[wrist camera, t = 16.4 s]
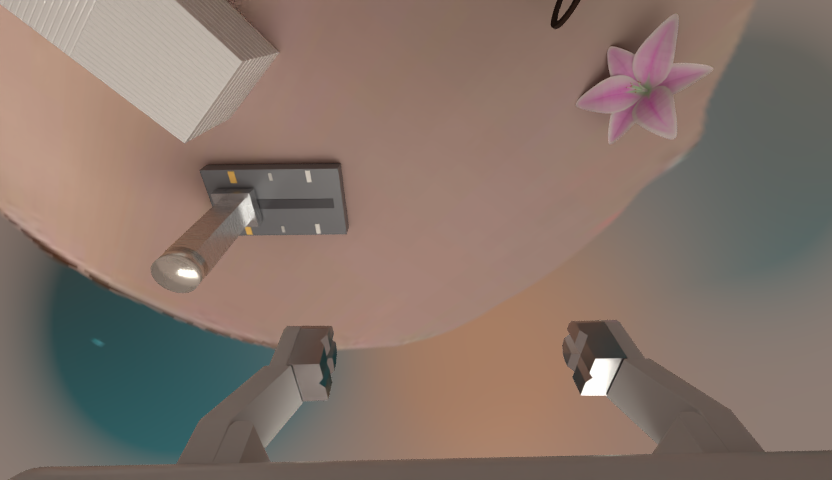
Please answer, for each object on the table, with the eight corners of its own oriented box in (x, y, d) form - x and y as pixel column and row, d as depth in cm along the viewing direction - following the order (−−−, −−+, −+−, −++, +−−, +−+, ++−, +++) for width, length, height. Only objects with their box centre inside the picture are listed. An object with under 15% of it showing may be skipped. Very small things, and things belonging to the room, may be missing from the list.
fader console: (228, 228, 52) (222, 236, 50) (207, 164, 47) (199, 170, 45) (348, 227, 52) (346, 234, 51) (340, 163, 47) (337, 169, 45)
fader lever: (227, 221, 49) (159, 295, 36) (216, 188, 46) (138, 255, 33) (262, 221, 49) (208, 294, 36) (253, 188, 46) (191, 255, 33)
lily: (661, 1, 39) (665, -6, 31) (726, 83, 39) (746, 94, 32) (567, 84, 47) (553, 93, 39) (622, 152, 47) (619, 173, 40)
